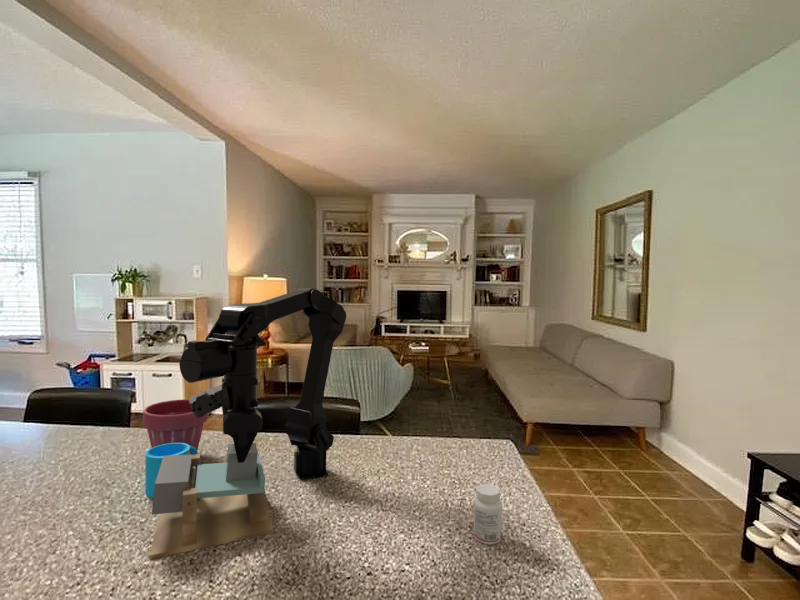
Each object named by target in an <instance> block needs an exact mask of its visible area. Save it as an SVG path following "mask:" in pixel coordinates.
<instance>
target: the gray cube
mask: <svg viewBox="0 0 800 600" xmlns="http://www.w3.org/2000/svg"><path fill="white" fill-rule="evenodd" d="M226 452H227V453H226V460H225V461H226V462H225V463H226V469H225V473H226V481H240V480H254V479H255V474H256V465H257V456H258V454H259V452H258V447H257V444H256V442H253V444H252V446H251V448H250V450H249V453H248V455H247V457H246V459H245V461H244V462H242V463H238V460H237V456H236V451H235V446H234V443H228V445H227V451H226Z"/></svg>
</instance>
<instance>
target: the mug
mask: <svg viewBox="0 0 800 600" xmlns="http://www.w3.org/2000/svg"><path fill="white" fill-rule="evenodd" d="M190 450H191V451H192V454H193V455H196V454H199V452H198V451H199V450H196V448H195V447H193V446H189V445H188V444H185V443H168V444H163V445H159V446H156V447H153V448H151V447H150V448H149V449H148V450H147V451H145V458H144V459H145V460H144V461H145V462H144V463H145V469H144V473H145V476H144V478H145V481H144V482H145V483H144V485H145V488H144V489H145V490H144V492H145V493H144V494H145V495H146V496H147V497H149V498H150V499H151V498H153V497H154V488H155V482H156V479H157V476H158V472H159V469H160V466H161V463H162V459H163V456H169V455H190Z"/></svg>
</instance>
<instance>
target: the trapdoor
mask: <svg viewBox="0 0 800 600" xmlns="http://www.w3.org/2000/svg"><path fill="white" fill-rule="evenodd" d="M191 459H192V454H190V455H169V456H163V459H162V463H161V466H160V469H159V472H158V476H157V479H156V482H155V488H154V497H153V499H152V507H151V515H153V516H154V515H160V514H164V513H175V512H183V490H185V489H188V485H189V477H190V468H191ZM225 469H226V462H219V463H217V462H216V463H202V464H201V463H200V464H198V466H197V476H196V486H195V488H197V499H198V498H210V497H222V496H233V495H245V494H257V493H264V492H265V484H266V476H265V474H264V473H265V472H264V469H263V464H262V461H261V457H260V453H258V456H257V465H256V474H255V479H254V480H240V481H226V473H225Z"/></svg>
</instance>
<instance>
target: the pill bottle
mask: <svg viewBox="0 0 800 600" xmlns="http://www.w3.org/2000/svg"><path fill="white" fill-rule="evenodd" d="M475 490H476V491H475V495H476V497H474V500H473V537H474V539H476V540H477V541H478V542H479V543H481V544H484V545H490V546H492V545H496V544H498V543H499V542H500V541H501V539H502V516H503V515H502V513H503V511H502V510H503V504H502V501H501V492H500V489H499V488H498V487H497V486H496V485H493V484H490V483H489V484H488V483H482V484H479V485H477V486H476V489H475Z"/></svg>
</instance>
